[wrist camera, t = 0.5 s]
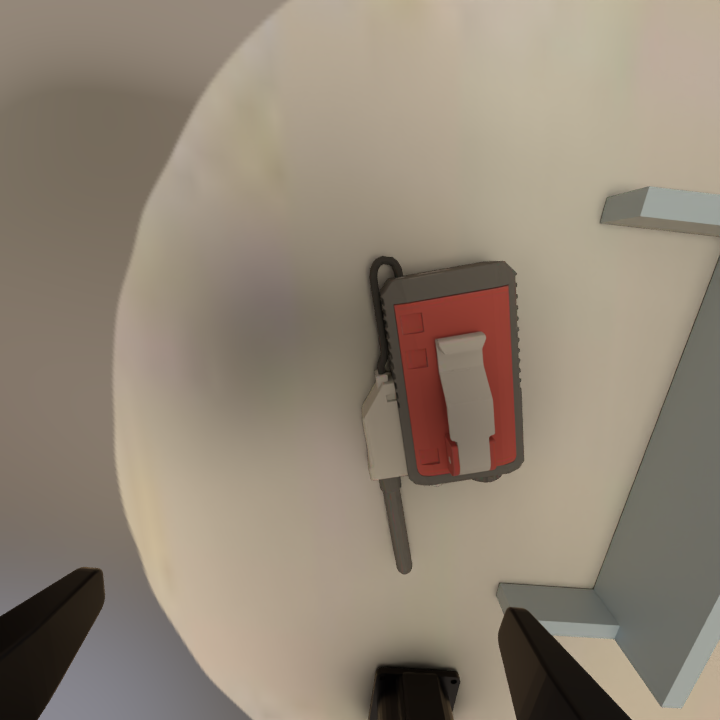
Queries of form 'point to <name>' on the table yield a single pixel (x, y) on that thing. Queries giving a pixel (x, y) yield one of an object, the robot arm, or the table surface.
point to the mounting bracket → (660, 501)
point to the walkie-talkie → (443, 382)
